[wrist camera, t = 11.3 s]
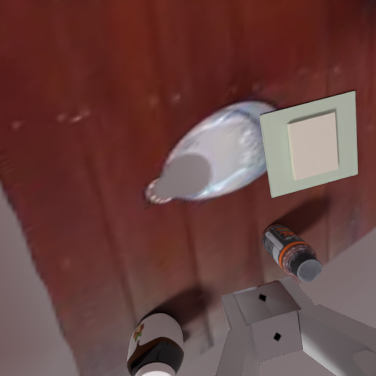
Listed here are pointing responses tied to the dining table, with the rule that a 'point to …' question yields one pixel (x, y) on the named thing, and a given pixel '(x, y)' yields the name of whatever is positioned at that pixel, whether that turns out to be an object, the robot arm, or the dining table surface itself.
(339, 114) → the mat
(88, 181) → the dining table surface
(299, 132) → the tile
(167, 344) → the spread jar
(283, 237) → the supplement bottle
